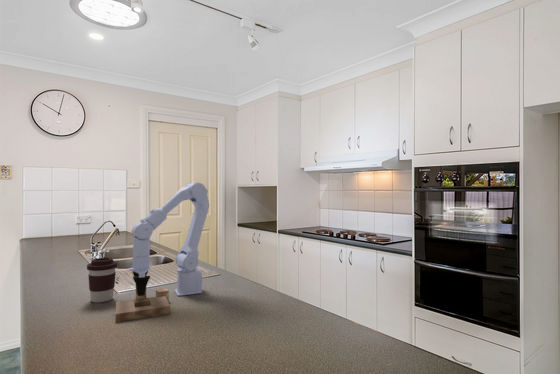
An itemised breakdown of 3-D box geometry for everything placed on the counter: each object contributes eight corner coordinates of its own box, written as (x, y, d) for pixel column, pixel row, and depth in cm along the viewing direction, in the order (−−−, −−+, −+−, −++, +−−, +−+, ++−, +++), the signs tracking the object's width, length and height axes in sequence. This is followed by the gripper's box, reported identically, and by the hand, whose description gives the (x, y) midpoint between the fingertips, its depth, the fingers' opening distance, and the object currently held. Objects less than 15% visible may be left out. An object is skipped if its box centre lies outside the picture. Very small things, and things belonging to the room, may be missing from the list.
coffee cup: (103, 305, 115) (104, 262, 115) (79, 303, 117) (80, 261, 117) (122, 296, 125) (123, 257, 125) (100, 294, 127) (100, 256, 127)
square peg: (145, 298, 123) (145, 279, 123) (146, 301, 119) (146, 282, 119) (135, 299, 121) (135, 280, 121) (135, 302, 118) (135, 283, 118)
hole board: (165, 302, 118) (165, 295, 118) (169, 313, 107) (169, 306, 107) (116, 309, 111) (116, 301, 111) (115, 322, 100) (115, 313, 100)
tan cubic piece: (165, 299, 122) (165, 288, 122) (168, 301, 120) (168, 290, 120) (155, 301, 120) (155, 289, 120) (158, 303, 117) (159, 292, 117)
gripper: (129, 253, 125) (128, 288, 125) (129, 260, 112) (129, 299, 112) (148, 251, 128) (148, 286, 128) (151, 258, 115) (151, 297, 115)
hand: (140, 292), depth 120 cm, fingers open, 7 cm apart
